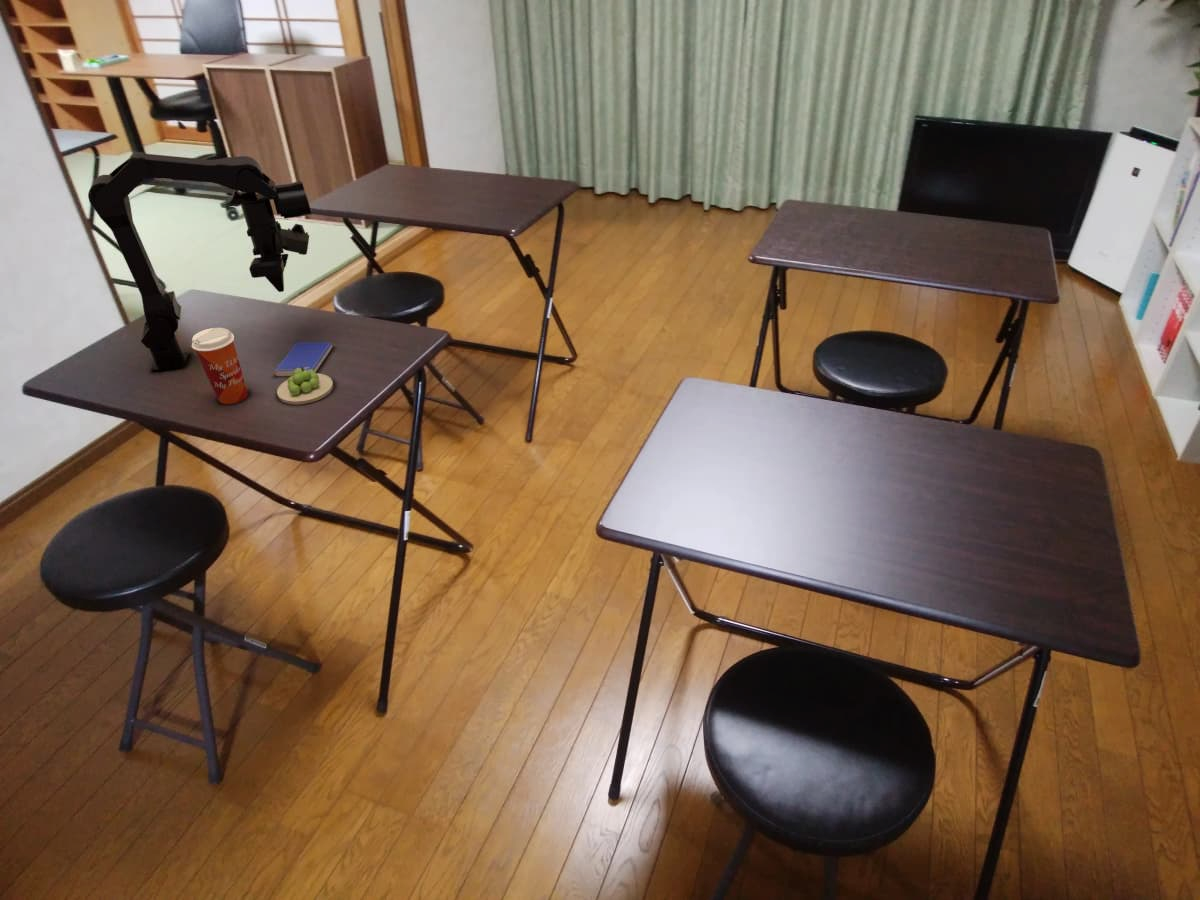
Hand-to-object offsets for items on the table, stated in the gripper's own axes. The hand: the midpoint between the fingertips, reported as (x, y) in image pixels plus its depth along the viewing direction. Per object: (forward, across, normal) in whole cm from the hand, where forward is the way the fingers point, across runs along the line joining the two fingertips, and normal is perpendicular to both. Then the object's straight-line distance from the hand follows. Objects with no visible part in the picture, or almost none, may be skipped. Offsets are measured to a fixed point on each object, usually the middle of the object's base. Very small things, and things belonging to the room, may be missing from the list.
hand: (281, 291), depth 168 cm
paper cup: (+12, -23, +10) cm, 28 cm away
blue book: (+12, -12, -3) cm, 17 cm away
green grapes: (+12, -24, -4) cm, 27 cm away
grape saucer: (+12, -24, -4) cm, 27 cm away
